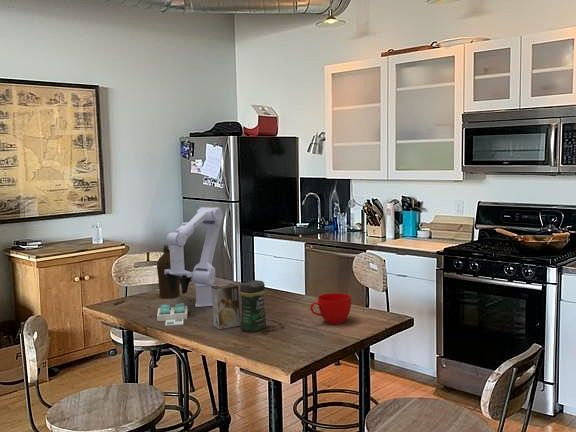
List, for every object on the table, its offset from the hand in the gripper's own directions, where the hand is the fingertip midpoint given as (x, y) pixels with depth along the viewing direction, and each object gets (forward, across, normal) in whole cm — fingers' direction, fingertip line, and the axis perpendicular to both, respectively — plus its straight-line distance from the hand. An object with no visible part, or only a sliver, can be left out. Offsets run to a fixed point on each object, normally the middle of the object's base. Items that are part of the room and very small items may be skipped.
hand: (179, 292), depth 251 cm
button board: (+9, 0, -4) cm, 10 cm away
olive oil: (+10, -28, +20) cm, 36 cm away
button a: (+8, 0, 0) cm, 8 cm away
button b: (+8, +4, -4) cm, 10 cm away
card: (+9, +8, -11) cm, 16 cm away
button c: (+8, -4, -4) cm, 10 cm away
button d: (+8, 0, -9) cm, 11 cm away
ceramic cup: (+10, +63, +20) cm, 66 cm away
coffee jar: (+10, +41, -1) cm, 43 cm away
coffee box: (+10, +29, -3) cm, 31 cm away
